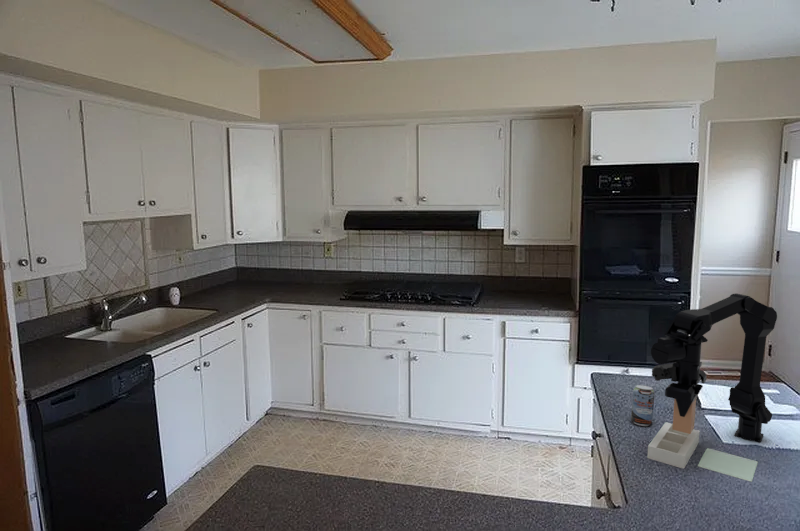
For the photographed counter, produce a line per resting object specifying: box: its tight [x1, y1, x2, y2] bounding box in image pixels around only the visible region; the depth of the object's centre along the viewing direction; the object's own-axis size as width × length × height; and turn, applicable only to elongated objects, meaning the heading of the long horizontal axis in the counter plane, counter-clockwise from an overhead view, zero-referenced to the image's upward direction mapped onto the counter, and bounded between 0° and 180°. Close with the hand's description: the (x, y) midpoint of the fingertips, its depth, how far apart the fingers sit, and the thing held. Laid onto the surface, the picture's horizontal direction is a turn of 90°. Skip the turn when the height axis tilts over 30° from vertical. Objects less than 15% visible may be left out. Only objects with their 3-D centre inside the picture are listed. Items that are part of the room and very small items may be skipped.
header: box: [646, 421, 701, 469], centre depth 150 cm, size 18×9×4 cm, turn 140°
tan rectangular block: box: [672, 394, 698, 434], centre depth 147 cm, size 5×5×10 cm
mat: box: [697, 447, 759, 483], centre depth 142 cm, size 12×12×1 cm
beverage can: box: [630, 384, 655, 427], centre depth 166 cm, size 6×7×12 cm
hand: (684, 413), depth 147 cm, fingers closed on tan rectangular block, 4 cm apart
